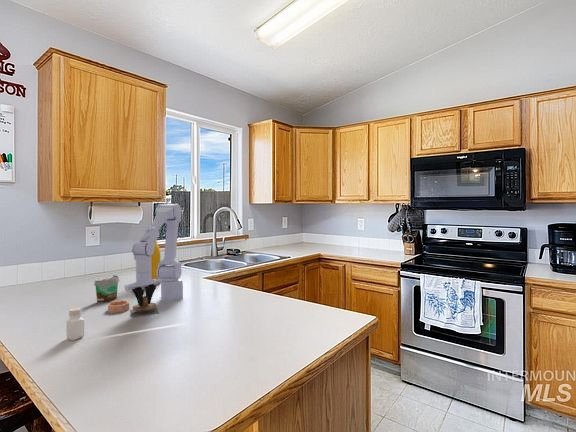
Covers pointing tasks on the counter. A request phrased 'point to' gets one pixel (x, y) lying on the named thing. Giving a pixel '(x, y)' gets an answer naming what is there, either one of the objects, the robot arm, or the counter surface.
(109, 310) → the bowl
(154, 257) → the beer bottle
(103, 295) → the food container
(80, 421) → the counter surface
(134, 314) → the mat
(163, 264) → the robot arm
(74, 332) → the salt shaker
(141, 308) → the lid
